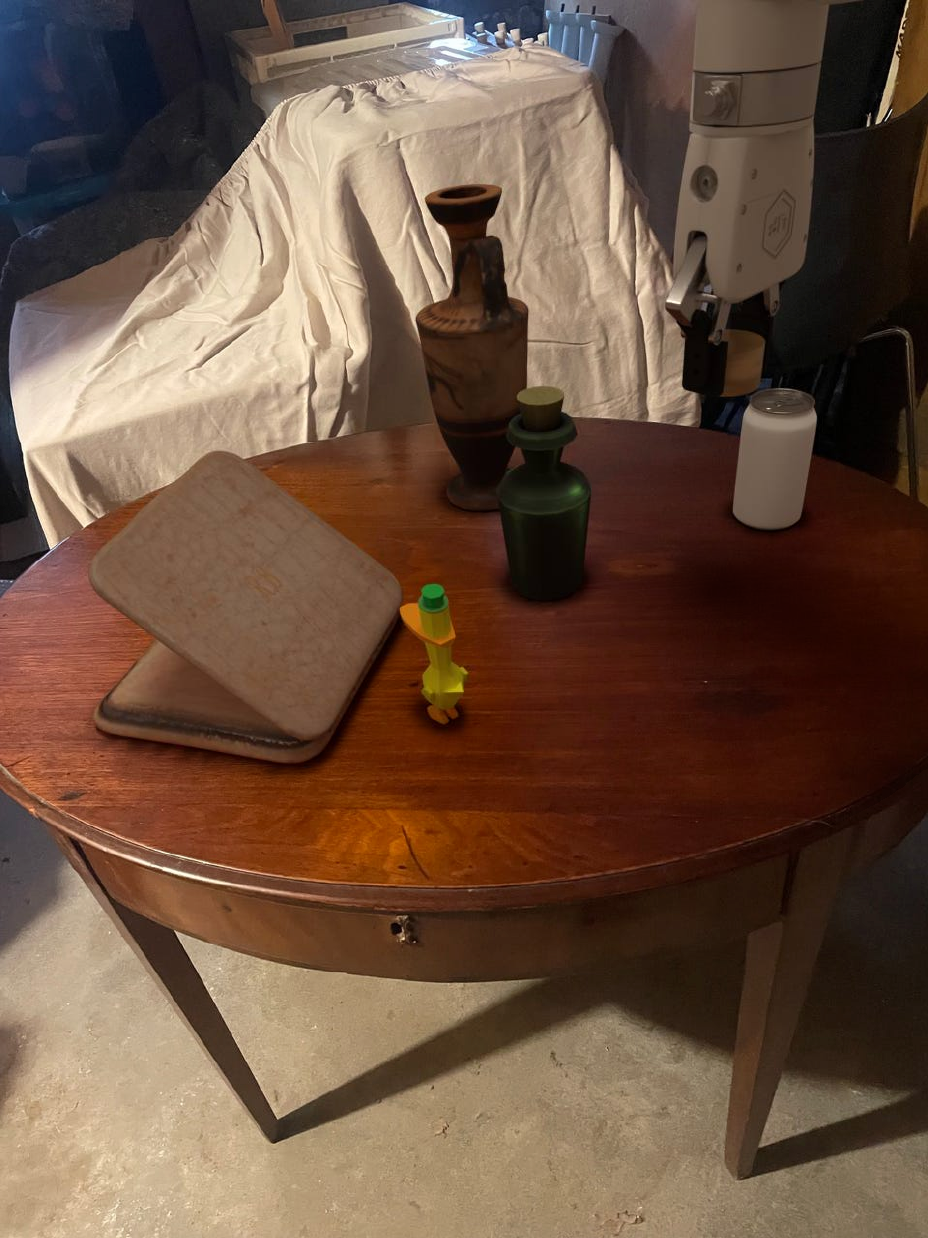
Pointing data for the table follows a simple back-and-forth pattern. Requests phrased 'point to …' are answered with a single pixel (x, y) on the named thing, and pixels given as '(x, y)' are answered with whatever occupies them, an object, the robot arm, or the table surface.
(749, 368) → the cylinder
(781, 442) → the can
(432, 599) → the toy figure
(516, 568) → the potion bottle
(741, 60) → the robot arm
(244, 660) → the case
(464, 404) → the vase
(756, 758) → the table surface
